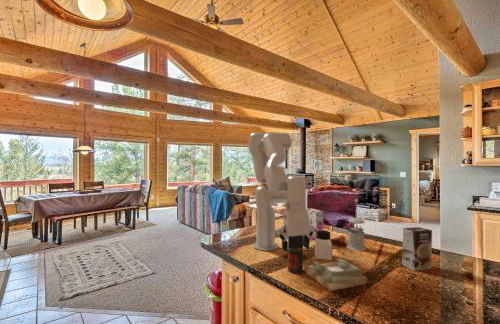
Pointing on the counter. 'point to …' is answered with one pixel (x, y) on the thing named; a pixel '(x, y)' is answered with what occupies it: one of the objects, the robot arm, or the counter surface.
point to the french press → (356, 234)
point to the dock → (336, 274)
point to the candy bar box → (316, 221)
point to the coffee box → (417, 248)
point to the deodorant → (295, 254)
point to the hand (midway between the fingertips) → (295, 249)
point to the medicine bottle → (323, 245)
